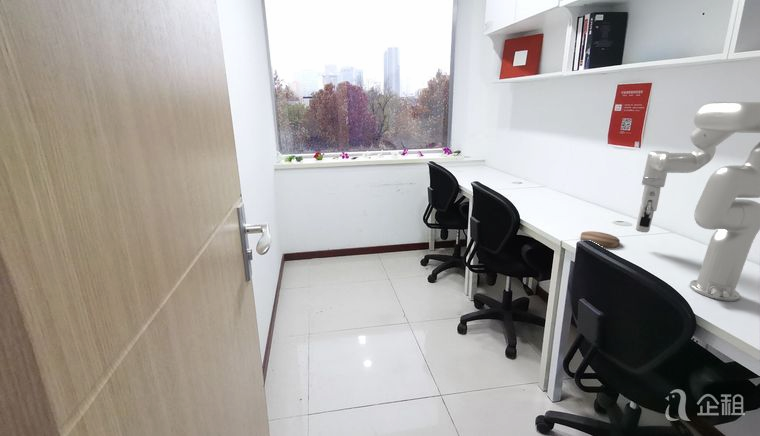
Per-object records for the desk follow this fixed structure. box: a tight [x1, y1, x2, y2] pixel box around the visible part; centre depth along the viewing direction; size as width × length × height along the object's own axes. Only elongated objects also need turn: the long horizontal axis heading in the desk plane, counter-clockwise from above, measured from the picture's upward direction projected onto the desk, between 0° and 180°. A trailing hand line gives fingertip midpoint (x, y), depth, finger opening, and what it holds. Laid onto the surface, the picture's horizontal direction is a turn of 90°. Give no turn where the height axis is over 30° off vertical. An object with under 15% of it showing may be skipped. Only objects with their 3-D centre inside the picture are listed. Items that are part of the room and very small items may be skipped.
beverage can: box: [635, 203, 655, 233], centre depth 155 cm, size 5×5×12 cm
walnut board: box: [579, 230, 621, 249], centre depth 165 cm, size 15×15×2 cm
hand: (643, 224), depth 155 cm, fingers closed on beverage can, 4 cm apart
